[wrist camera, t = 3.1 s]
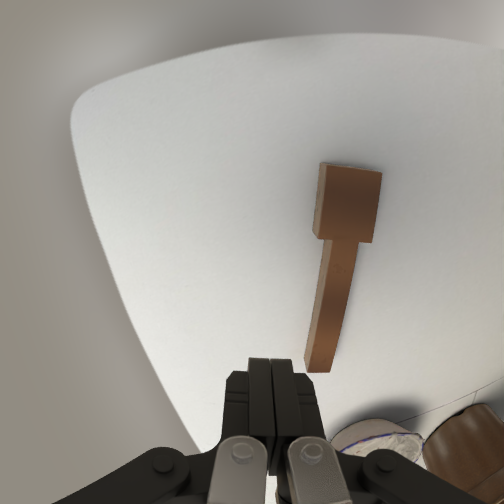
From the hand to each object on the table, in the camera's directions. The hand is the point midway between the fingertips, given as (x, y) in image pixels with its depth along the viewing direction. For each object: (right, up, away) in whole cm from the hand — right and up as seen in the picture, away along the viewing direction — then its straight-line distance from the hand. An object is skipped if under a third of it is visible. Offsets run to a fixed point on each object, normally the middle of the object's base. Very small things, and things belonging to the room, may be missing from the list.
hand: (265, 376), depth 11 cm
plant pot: (+29, -21, +22) cm, 43 cm away
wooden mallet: (+6, +3, +13) cm, 15 cm away
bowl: (+13, -18, +21) cm, 30 cm away
